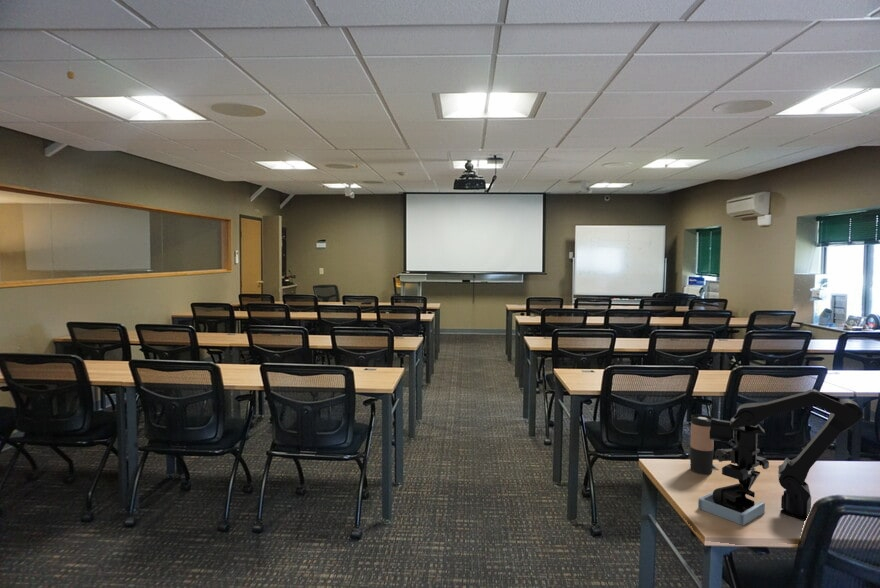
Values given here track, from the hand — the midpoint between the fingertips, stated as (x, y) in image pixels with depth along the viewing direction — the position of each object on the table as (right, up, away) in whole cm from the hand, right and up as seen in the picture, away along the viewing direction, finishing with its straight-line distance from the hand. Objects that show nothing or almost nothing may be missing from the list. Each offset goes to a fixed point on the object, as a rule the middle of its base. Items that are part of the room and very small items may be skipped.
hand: (744, 493), depth 160 cm
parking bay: (-7, -3, -5) cm, 9 cm away
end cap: (-6, -3, -4) cm, 8 cm away
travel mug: (0, -2, +26) cm, 26 cm away
